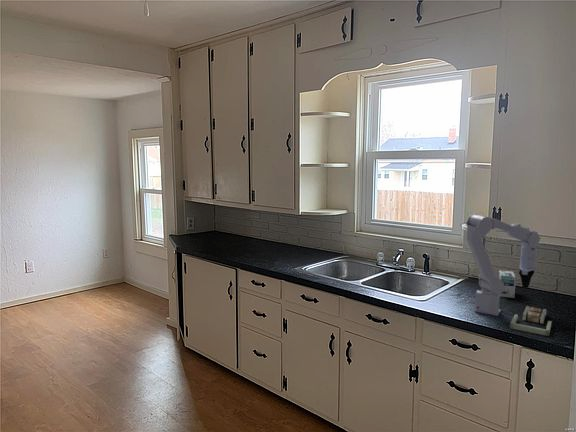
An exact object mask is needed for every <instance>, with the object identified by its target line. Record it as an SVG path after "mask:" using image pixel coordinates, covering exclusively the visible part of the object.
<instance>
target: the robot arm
mask: <svg viewBox="0 0 576 432" xmlns="http://www.w3.org/2000/svg"><path fill="white" fill-rule="evenodd" d="M465 225H466V228H467V230H466V241H467V243H468V246H469V248H470V251H471V253H472V256H473V259H474V261H475V264H476V266H477V269H478V271H479V274H478V275H477V276H478V285H479V287H480V289H481V290H479V289H477V290H476V294H475V300H474V301H475V302H474V312H476V313H480V314H486V315H492V316H497V317H498V316H499V314H500V313H501V311H502V310H501V309H500V298H501V297H500V294H501V293H502V291H503V290H504V283H503V282H502V281H501V280H500V279H499V274H497V273H496V272H495V271H494V269H493V265H492V264H491V261H490V258H489V255H488V253H487V250H486V248H485V245H484V243H483V239H484V238H485V237H486V236H487V235H488V234H489V232H490V231H491V230H495V229H498V230H500V231H503V232H506V233H507V236H508V237H511V238H514V239H516V240H519V241H520V242H521V244H520V245H521V246H520V247H521V248H520V259H519V267H518V268H519V269H520V270H518V273H519V276H520V280H521V287H522V288H527V289H528V288H529V286H530V284H531V283H530V282H531V280H532V277H533V276H534V274H535V271H537V270H538V269H539V268H538V267H536V253H537V247H538V244H539V242H540V240H541V237H540V234H539V233H538V232H537V231H534V230H531V229H530V228H529V227H524V226H521V225H522V224H521V223H511V224H509V223H505V222H504V221H502V220H499V219H498V218H493V217H489V216H485V215H479V214H476V213H473V214H470V215H469V217H468V218H467V220H466V222H465Z"/></svg>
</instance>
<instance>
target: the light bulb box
mask: <svg viewBox="0 0 576 432" xmlns="http://www.w3.org/2000/svg"><path fill="white" fill-rule="evenodd" d="M498 277H499V279H500V280H501V281H502V282H503V283H504V290H503V291H502V293H501V294H500V298H511V299H515V297H516V296H515V294H516V281H517V280H516V279H517V277H516V275H515V273H514V271H512V270H499V271H498Z"/></svg>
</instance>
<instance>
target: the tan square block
mask: <svg viewBox="0 0 576 432" xmlns="http://www.w3.org/2000/svg"><path fill="white" fill-rule="evenodd" d="M529 311H530V312H536V313H540V317H541V314H542V308H538V307H537V308H536V307H533V306H531V307H530V308H529Z"/></svg>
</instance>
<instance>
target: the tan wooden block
mask: <svg viewBox="0 0 576 432" xmlns="http://www.w3.org/2000/svg"><path fill="white" fill-rule="evenodd" d="M540 317H541V316H540V313H536V312H530V310H529V313H528V316H527V318H526V321H527V322H531V323H537V324H538V323H540Z"/></svg>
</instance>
